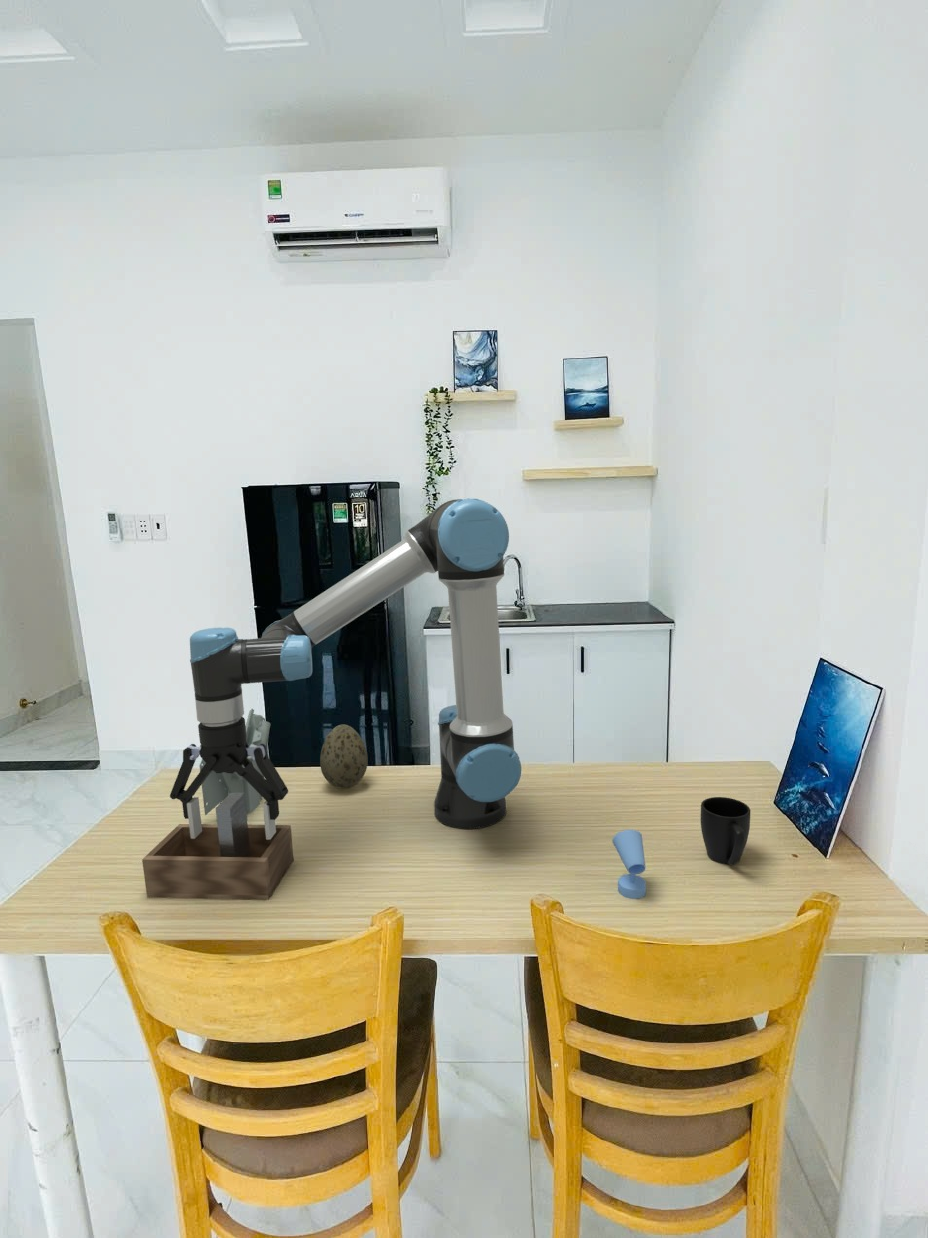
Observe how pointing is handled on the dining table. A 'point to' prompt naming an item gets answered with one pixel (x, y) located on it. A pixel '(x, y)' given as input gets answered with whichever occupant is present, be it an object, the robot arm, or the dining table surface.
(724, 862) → the mug
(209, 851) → the open wooden box
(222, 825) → the angle bracket
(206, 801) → the bracket
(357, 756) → the decorative egg
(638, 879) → the spotlight
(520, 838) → the dining table surface
